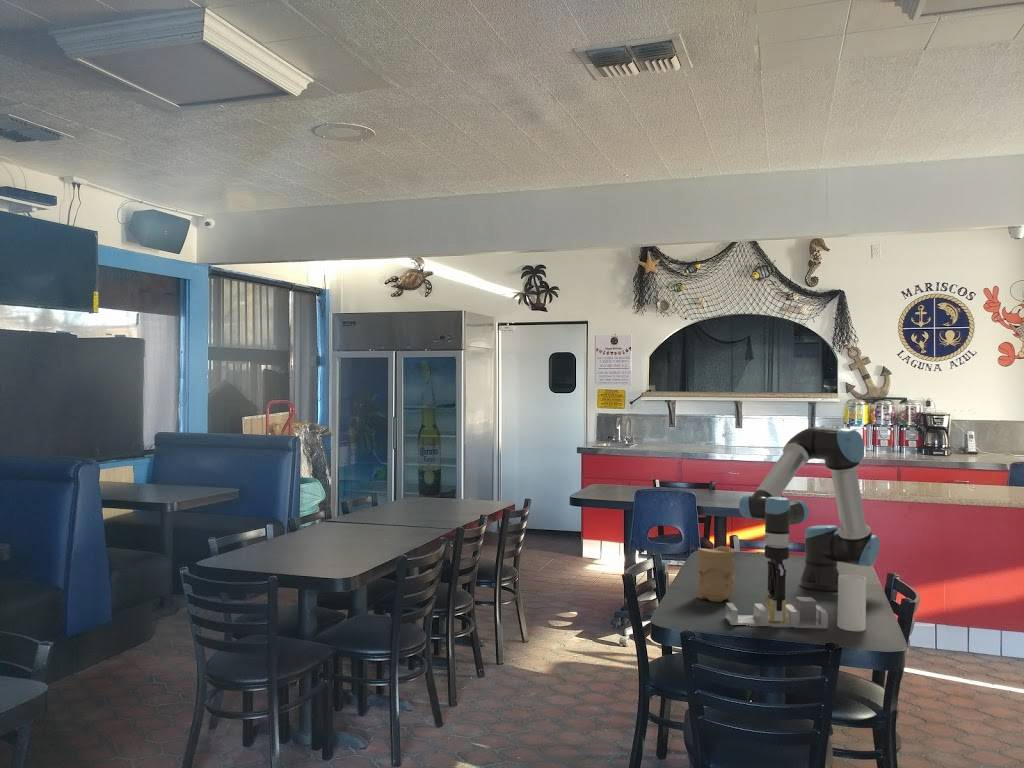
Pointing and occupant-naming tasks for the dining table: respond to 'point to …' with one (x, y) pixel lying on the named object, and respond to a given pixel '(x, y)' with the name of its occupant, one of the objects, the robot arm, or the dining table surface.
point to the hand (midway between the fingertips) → (775, 617)
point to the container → (715, 573)
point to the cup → (851, 602)
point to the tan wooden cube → (771, 607)
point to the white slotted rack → (800, 617)
